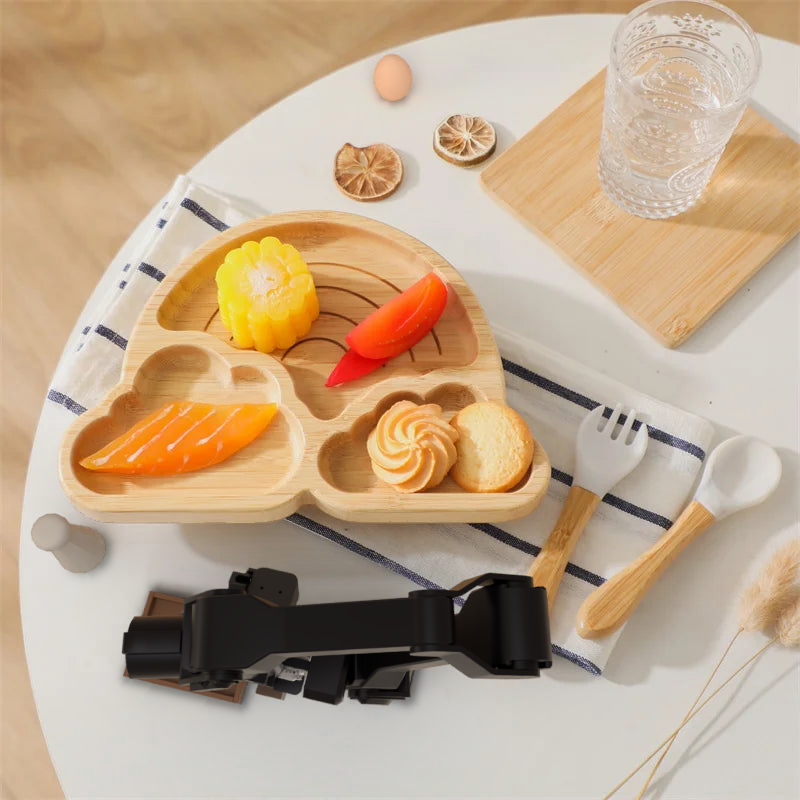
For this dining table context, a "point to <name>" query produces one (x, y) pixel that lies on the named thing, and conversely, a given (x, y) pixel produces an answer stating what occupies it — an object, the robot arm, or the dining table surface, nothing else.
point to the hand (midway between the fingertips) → (275, 662)
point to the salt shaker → (69, 542)
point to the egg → (392, 77)
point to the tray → (174, 606)
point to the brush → (270, 692)
